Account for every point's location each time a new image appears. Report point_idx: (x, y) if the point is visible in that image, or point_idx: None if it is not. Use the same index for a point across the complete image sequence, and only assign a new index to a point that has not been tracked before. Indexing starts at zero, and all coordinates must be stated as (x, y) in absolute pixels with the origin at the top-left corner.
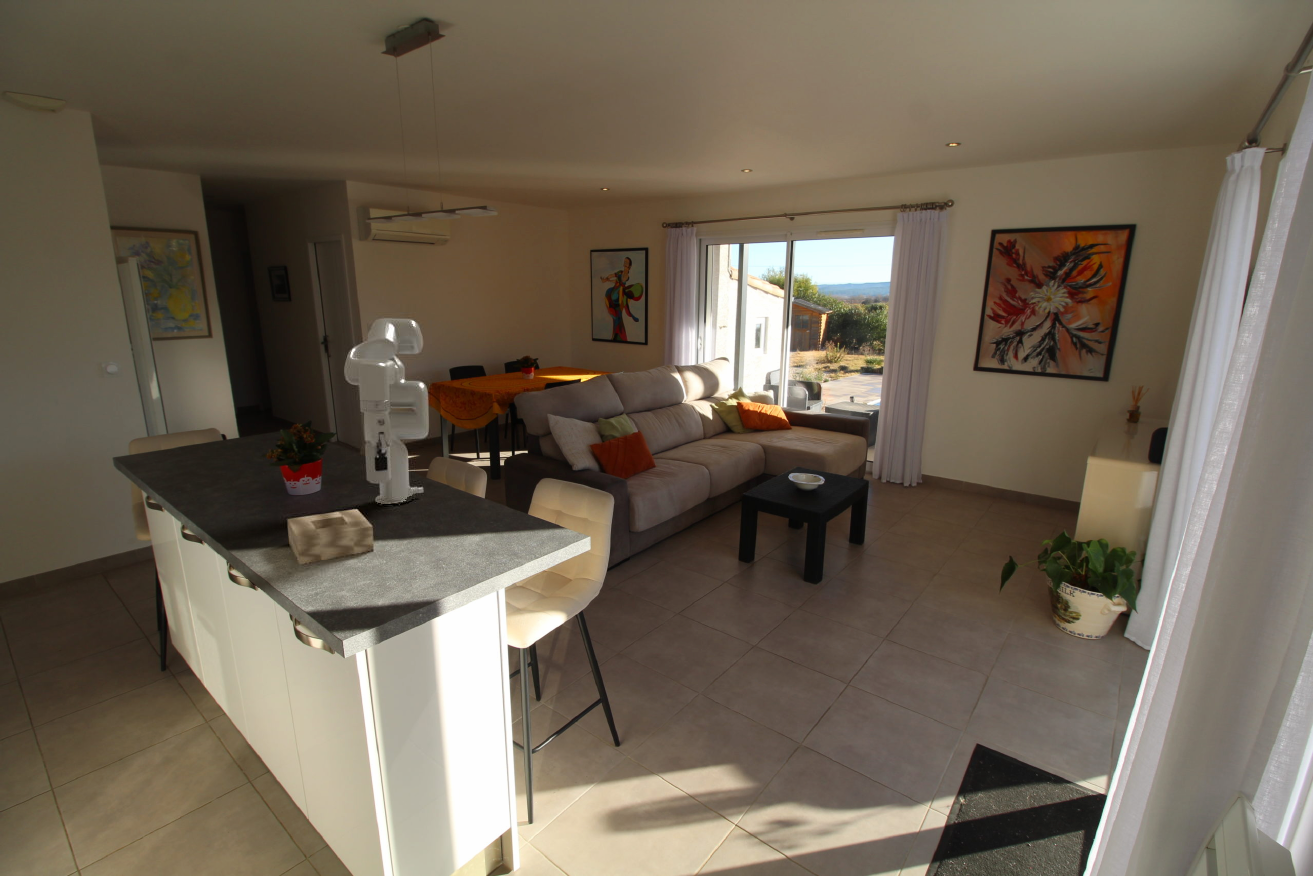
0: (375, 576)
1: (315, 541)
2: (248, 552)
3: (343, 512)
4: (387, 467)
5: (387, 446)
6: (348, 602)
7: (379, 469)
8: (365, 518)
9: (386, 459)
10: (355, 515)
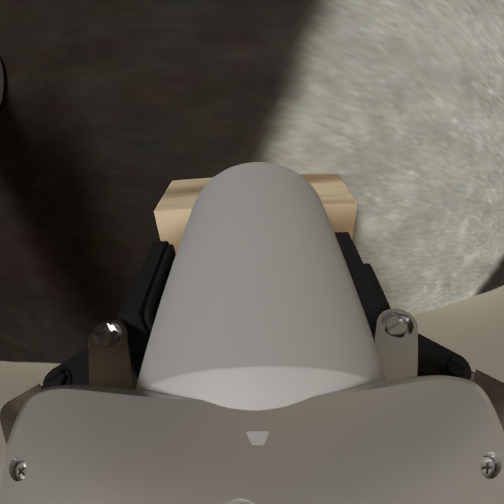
0: (458, 208)
1: None
2: None
3: (176, 247)
4: (351, 239)
5: (378, 381)
6: (492, 257)
7: None
8: None
9: (371, 288)
10: None
